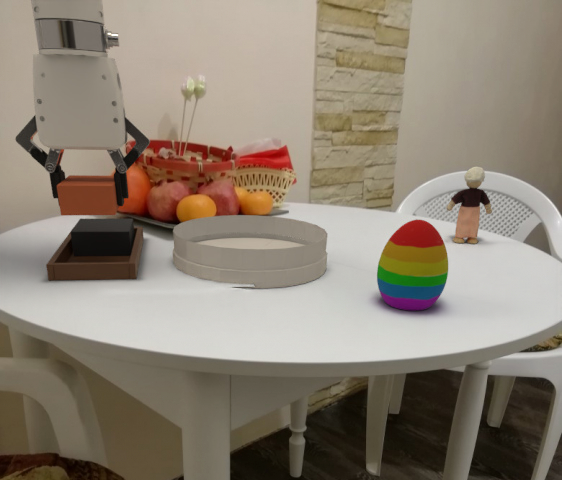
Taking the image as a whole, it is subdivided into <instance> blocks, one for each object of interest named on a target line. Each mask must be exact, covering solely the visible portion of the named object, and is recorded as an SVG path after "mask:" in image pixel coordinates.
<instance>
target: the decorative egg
mask: <svg viewBox="0 0 562 480" xmlns="http://www.w3.org/2000/svg"><path fill="white" fill-rule="evenodd" d="M377 264H378V265H377V269H376V271H377V272H376V283H377V288H378V291H379V293H380V296H381V297H382V299H383V301H384V303H386V304H387V305H388V306H390V307H392V308H395V309H398V310H402V311H411V312H412V311H415V312H416V311H424V310H426V309H429V308H431V307H432V306H433V305H434V304H435V303H436V302H437V301H438V300H439V298H440V297H441V295H442V293H443V292H444V289H445V287H446V284H447V280H448V275H449V257H448V251H447V247H446V244H445V241H444V240H443V237H442V236H441V233H440V232H439V231H438V230H437V228H436V227H435V226H434V225H433V224H431V223H430V221H429V222H428V221H427V220H425V219H413V220H409V221H408V222H406V223H404V224H402V225H401V226H400V227H399V228H398V229H397V230H395V232H393V234H392V235H391V236H390V237H389V239H388V240H387V242H386V243H385V245H384V246H383V249H382V251H381V254H380V256H379V259H378V263H377Z"/></svg>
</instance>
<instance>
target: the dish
mask: <svg viewBox="0 0 562 480" xmlns="http://www.w3.org/2000/svg"><path fill="white" fill-rule="evenodd" d="M172 236H173V238H172V239H173V249H172V262H173V265H174V266H175V267H176V268H175V269H177V270H178V271H180V272H182V273H184V274H186V275H188V276H191V277H195V278H198V279H202V280H207V281H211V282H216V283H225V284H235V285H253V286H233V288H236V289H277V288H287V287H292V286H297V285H303V284H307V283H311V282H312V281H316V280H318V279H319V278H321V277H322V276H324V275H325V273H326V271H327V270H326V269H327V264H328V252H327V243H328V232H327V230H326V229H325V228H323V227H321V226H319V225H318V224H314V223H311V222H308V221H304V220H299V219H294V218H289V217H281V216H269V215H256V214H255V215H254V214H253V215H251V214H250V215H249V214H233V215H232V214H231V215H229V214H228V215H215V216H204V217H200V218H199V217H198V218H193V219H189V220H186V221H183V222H180V223H179V224H177V225H175V226H174V227H173V230H172Z"/></svg>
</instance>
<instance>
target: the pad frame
mask: <svg viewBox="0 0 562 480" xmlns="http://www.w3.org/2000/svg"><path fill="white" fill-rule="evenodd" d="M73 228H74V226H73V227H72V229H73ZM72 229H71V230H70V231H69V233H68V234H67V236H66V237H65V238H64V239H63V241H62V242H61V244H60V245H59V247H58V248H56V251H55V252H54V254H53V255H52V256H51V258H50V259H49V260H48V262H47V263H46V265H45V266H46V273H47V278H48V281H49V282H59V281H64V282H65V281H114V280H115V281H118V280H119V281H120V280H137V277H138V272H139V266H140V261H141V257H142V256H141V255H142V251H143V245H144V240H145V237H144V227H143V226H134V234H135V240H134V244H133V248H132V252H131V256H74V253H73V246H72V239H71V231H72Z"/></svg>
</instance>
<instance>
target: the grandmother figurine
mask: <svg viewBox="0 0 562 480" xmlns="http://www.w3.org/2000/svg"><path fill="white" fill-rule="evenodd" d="M485 178H486V174H485V170H484V168H483V167H480V166H473V167H471V168H469V169H468V170H467V172H465V174H464V181H465V184H466V186H467V188H465V189H461V190H459V191H457V192H456V193H455V194H454V195H453V196H452V197H451V198H450V201H449V203H448V205H446V210H447V211H448V212H451V211H452V210H453V208H454V207H455V206H456V205H458V204H460V206H459V209H458V214H457V218H456V219H457V220H456V224H455V232H454V233H455V234H454V237H453V238H452V242H453V243H456V244H465V242H466V243H467V244H471V245H477V244H478V242H479V240H478V234H479V227H480V217H481V204H482V205H483V206H484V209H485V213H486V214H487V215H490V214H492V213H493V209H492V204H491V200H490V198H489V196H488V194H487V193H486V191H484V190H483V189H480V188H479V187H481V185H482V183H483V182H485ZM465 239H466V241H465Z"/></svg>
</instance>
